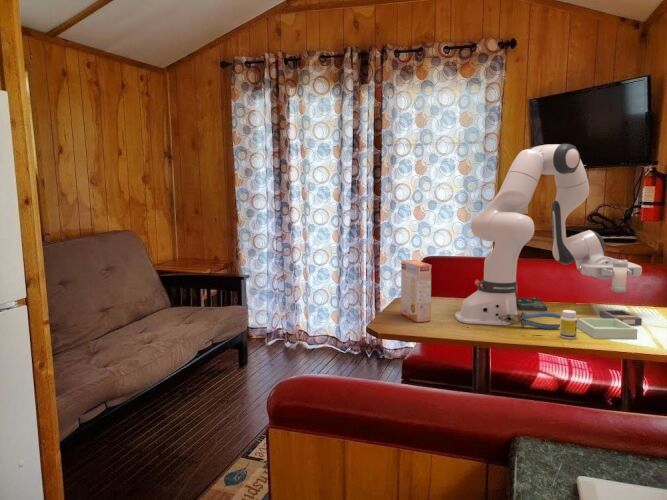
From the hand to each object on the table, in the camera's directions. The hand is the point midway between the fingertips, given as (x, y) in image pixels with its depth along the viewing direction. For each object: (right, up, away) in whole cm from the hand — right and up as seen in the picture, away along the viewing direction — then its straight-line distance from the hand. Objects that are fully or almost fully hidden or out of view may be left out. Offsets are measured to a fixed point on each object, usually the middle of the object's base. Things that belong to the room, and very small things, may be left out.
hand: (621, 273), depth 177 cm
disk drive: (-23, -15, +25) cm, 37 cm away
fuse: (0, -6, +2) cm, 7 cm away
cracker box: (-71, -17, +8) cm, 74 cm away
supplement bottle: (-27, -20, -17) cm, 38 cm away
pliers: (-35, -18, -7) cm, 40 cm away
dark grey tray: (0, -17, +1) cm, 17 cm away
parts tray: (-13, -19, -13) cm, 26 cm away
